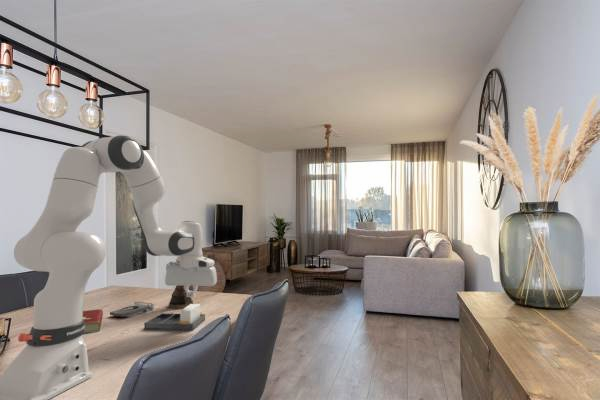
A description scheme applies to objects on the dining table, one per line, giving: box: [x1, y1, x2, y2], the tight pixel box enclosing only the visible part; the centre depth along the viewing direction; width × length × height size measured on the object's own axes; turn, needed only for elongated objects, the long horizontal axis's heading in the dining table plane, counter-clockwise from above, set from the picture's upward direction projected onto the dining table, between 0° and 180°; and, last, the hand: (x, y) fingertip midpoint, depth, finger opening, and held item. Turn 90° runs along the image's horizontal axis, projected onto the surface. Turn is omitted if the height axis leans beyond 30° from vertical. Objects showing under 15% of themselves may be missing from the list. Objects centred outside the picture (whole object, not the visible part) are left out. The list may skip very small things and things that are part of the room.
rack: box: [143, 311, 206, 332], centre depth 139 cm, size 14×19×3 cm
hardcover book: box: [83, 308, 104, 334], centre depth 139 cm, size 12×21×4 cm, turn 27°
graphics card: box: [109, 301, 155, 318], centre depth 156 cm, size 17×4×12 cm
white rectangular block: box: [179, 303, 201, 323], centre depth 138 cm, size 10×4×6 cm, turn 175°
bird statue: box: [168, 255, 194, 310], centre depth 171 cm, size 17×13×35 cm
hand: (191, 296), depth 139 cm, fingers closed
